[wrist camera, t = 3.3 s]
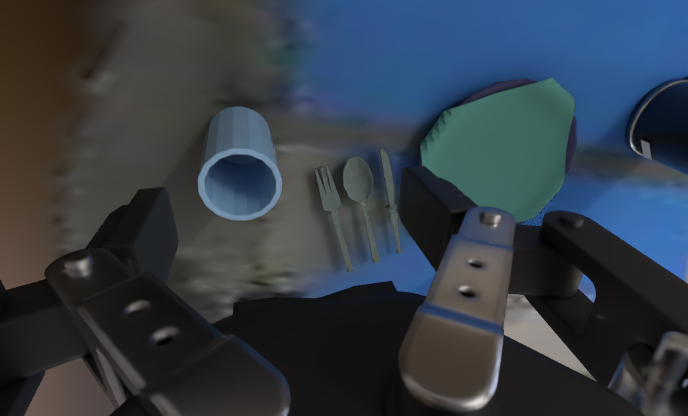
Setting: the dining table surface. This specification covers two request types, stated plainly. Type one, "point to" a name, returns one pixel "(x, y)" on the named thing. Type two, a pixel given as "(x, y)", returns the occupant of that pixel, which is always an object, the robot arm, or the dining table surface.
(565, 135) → the cutlery set
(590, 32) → the dining table surface
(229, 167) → the cup
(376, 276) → the dining table surface
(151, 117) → the dining table surface
